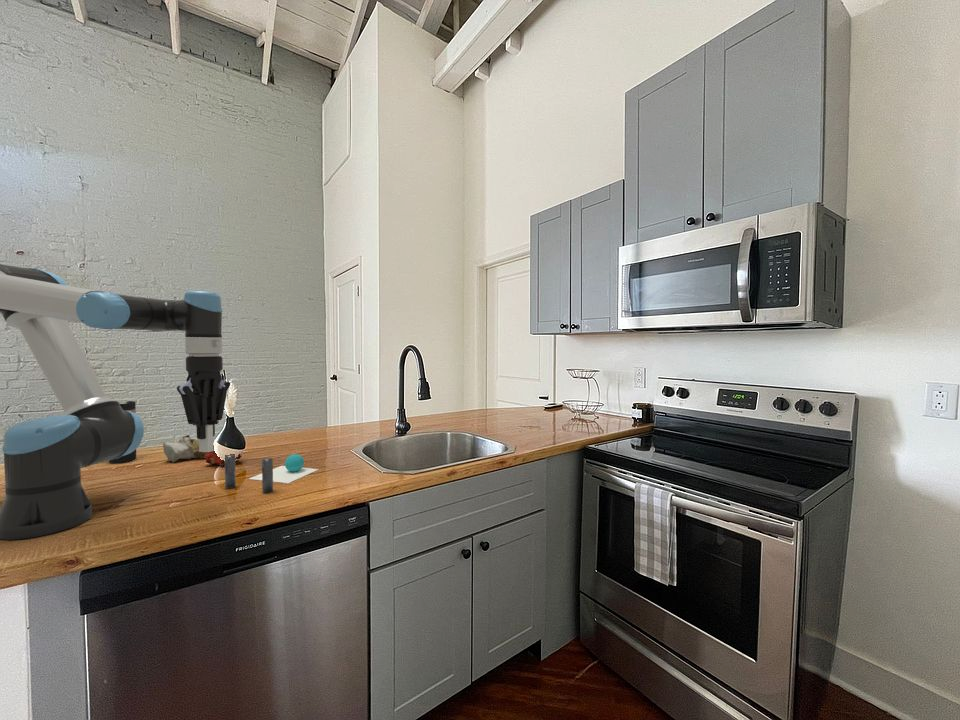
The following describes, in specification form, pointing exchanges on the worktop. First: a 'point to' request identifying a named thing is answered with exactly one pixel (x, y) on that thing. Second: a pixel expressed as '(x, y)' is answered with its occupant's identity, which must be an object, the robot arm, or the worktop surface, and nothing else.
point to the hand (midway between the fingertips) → (206, 451)
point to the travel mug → (132, 456)
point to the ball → (294, 463)
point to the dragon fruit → (215, 458)
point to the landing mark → (286, 475)
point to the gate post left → (230, 471)
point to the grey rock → (182, 449)
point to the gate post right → (267, 475)
